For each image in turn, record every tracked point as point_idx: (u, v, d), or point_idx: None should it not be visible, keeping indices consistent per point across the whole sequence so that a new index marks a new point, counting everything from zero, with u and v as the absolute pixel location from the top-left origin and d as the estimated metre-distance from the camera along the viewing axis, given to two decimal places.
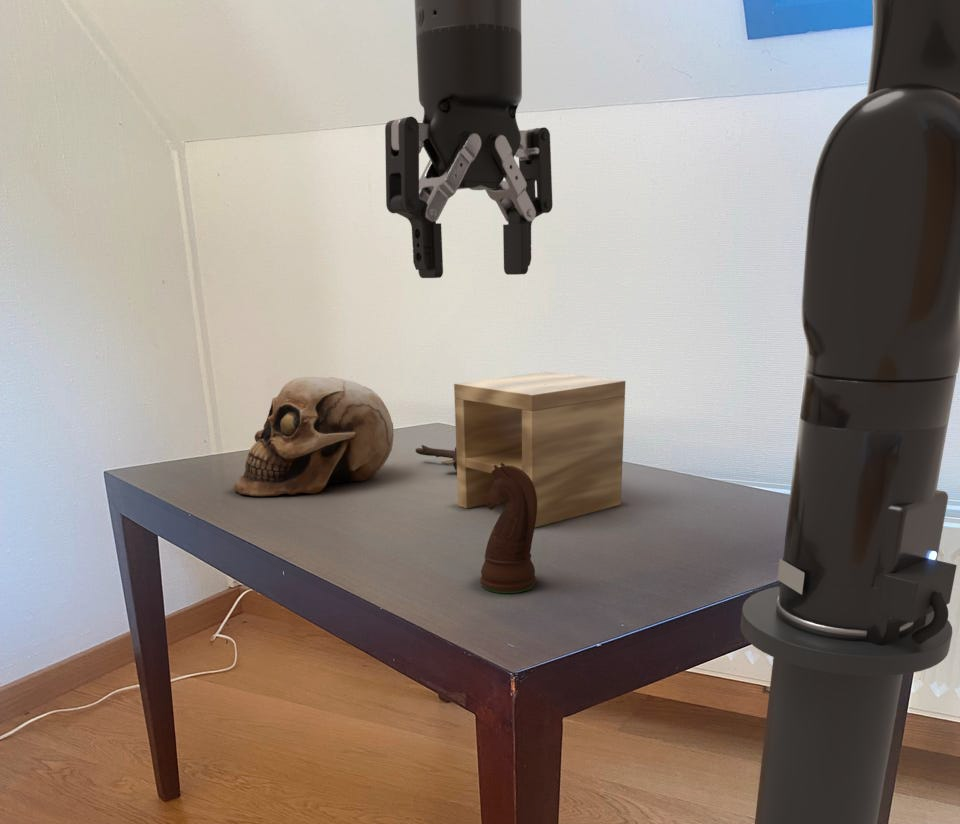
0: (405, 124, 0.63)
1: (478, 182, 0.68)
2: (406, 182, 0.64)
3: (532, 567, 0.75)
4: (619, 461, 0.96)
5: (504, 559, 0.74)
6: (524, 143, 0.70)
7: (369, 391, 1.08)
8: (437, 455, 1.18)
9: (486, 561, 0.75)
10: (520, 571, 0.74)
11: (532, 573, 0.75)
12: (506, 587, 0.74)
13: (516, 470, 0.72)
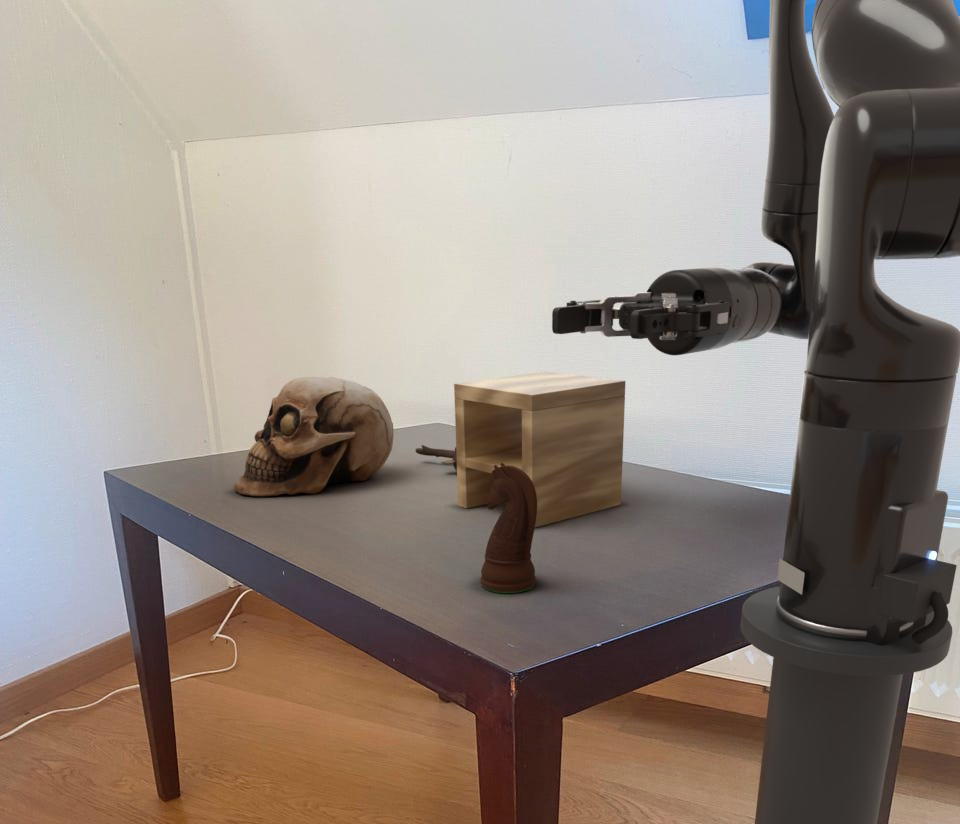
0: None
1: (637, 305, 0.81)
2: None
3: (532, 567, 0.75)
4: (619, 461, 0.96)
5: (504, 559, 0.74)
6: None
7: (369, 391, 1.08)
8: (437, 455, 1.18)
9: (486, 561, 0.75)
10: (520, 571, 0.74)
11: (532, 573, 0.75)
12: (506, 587, 0.74)
13: (516, 470, 0.72)
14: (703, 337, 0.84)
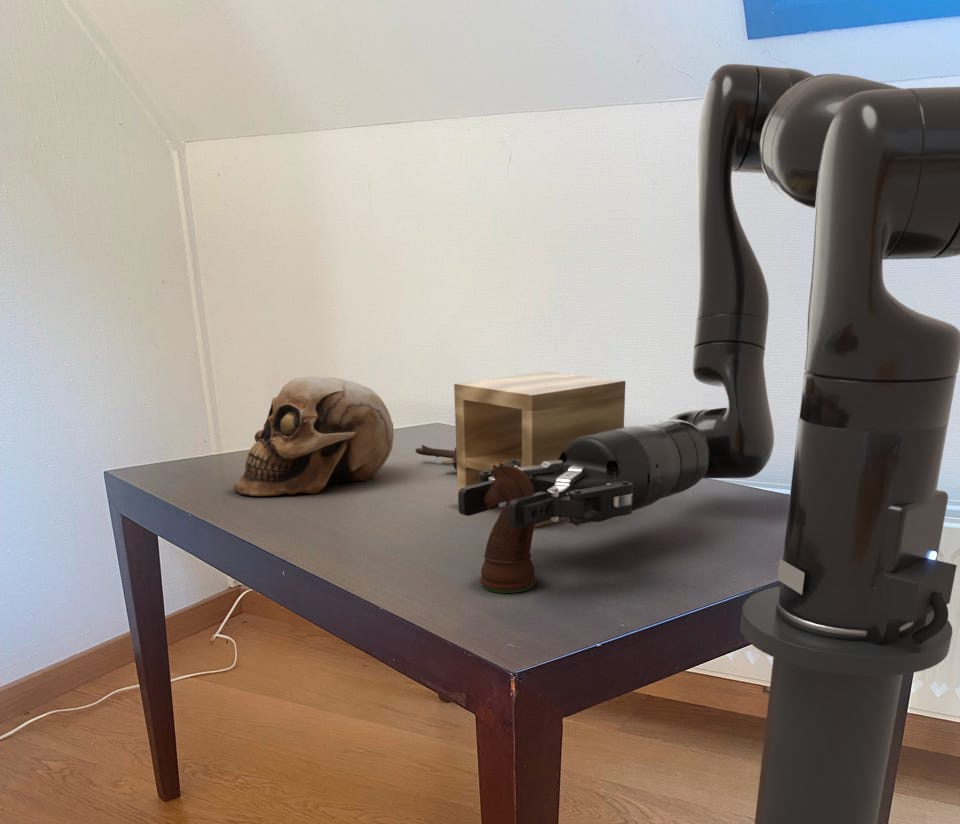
0: (509, 461, 0.82)
1: (545, 479, 0.76)
2: (488, 469, 0.79)
3: (532, 567, 0.75)
4: None
5: (504, 559, 0.74)
6: None
7: (369, 391, 1.08)
8: (437, 455, 1.18)
9: (486, 561, 0.75)
10: (520, 570, 0.74)
11: (532, 573, 0.75)
12: (506, 587, 0.74)
13: (515, 470, 0.72)
14: None
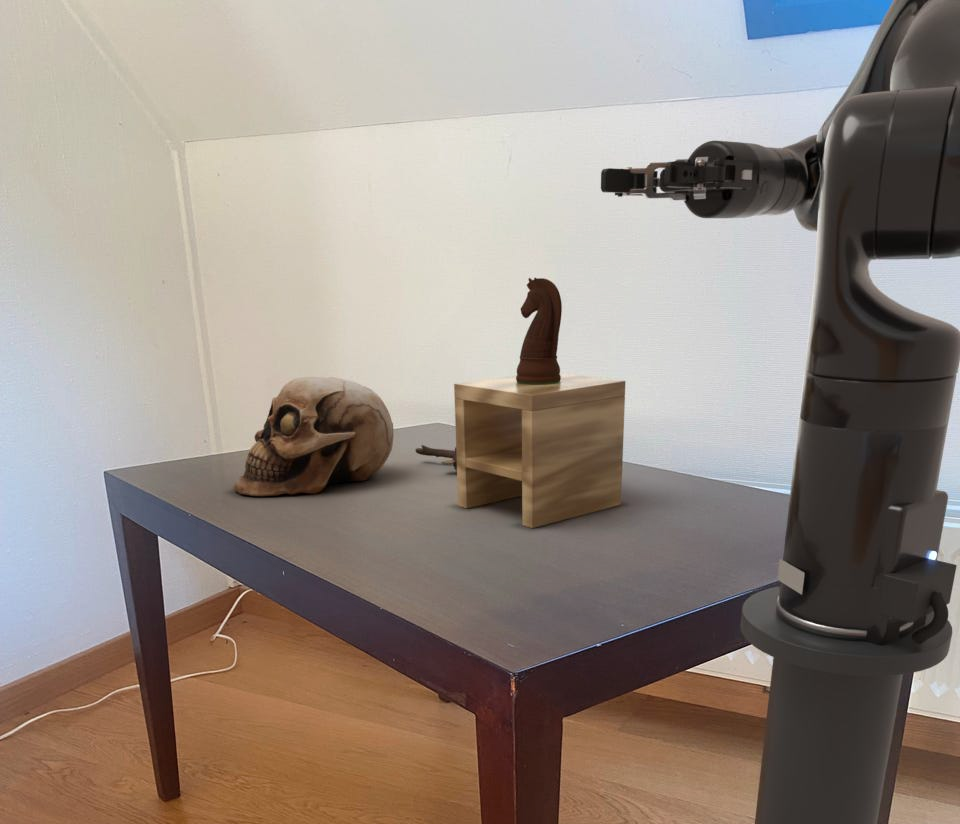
0: None
1: None
2: None
3: (557, 365, 0.93)
4: (619, 461, 0.96)
5: (534, 356, 0.92)
6: None
7: (369, 391, 1.08)
8: (437, 455, 1.18)
9: (520, 360, 0.93)
10: (547, 366, 0.92)
11: (557, 370, 0.93)
12: (535, 379, 0.92)
13: (545, 280, 0.90)
14: (733, 198, 0.97)
